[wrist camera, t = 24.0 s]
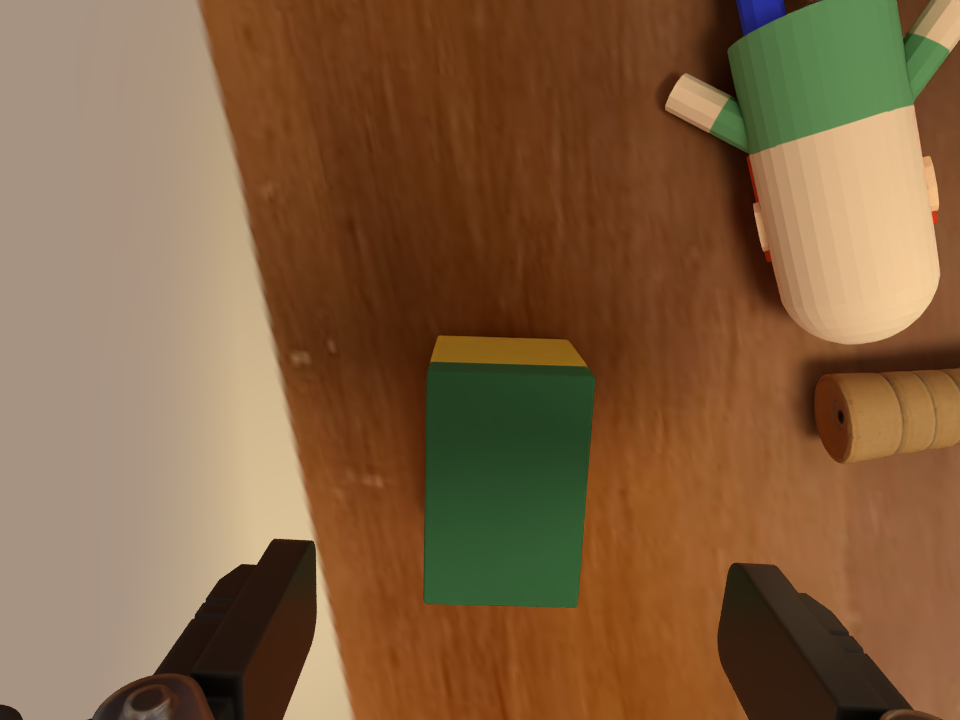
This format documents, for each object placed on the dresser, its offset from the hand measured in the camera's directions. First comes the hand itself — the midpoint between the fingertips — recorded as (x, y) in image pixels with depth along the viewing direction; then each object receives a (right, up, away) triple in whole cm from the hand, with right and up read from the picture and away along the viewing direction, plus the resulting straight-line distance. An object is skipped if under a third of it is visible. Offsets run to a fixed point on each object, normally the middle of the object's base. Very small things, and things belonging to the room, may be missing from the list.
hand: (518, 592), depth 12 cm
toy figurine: (+9, +11, +8) cm, 17 cm away
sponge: (0, +2, +10) cm, 10 cm away
